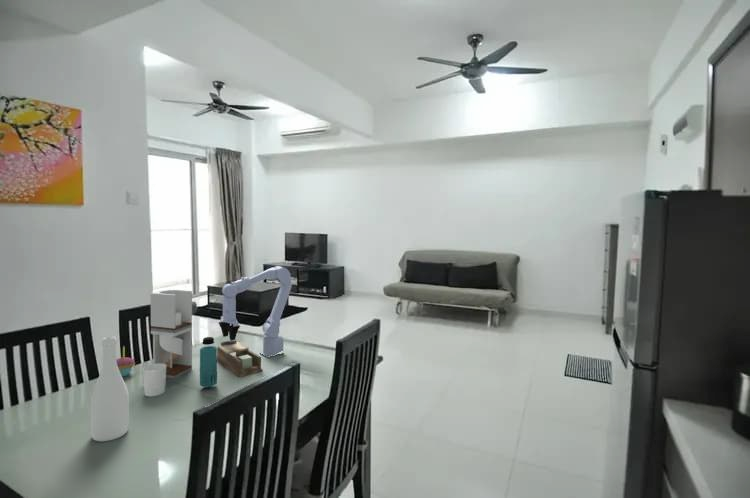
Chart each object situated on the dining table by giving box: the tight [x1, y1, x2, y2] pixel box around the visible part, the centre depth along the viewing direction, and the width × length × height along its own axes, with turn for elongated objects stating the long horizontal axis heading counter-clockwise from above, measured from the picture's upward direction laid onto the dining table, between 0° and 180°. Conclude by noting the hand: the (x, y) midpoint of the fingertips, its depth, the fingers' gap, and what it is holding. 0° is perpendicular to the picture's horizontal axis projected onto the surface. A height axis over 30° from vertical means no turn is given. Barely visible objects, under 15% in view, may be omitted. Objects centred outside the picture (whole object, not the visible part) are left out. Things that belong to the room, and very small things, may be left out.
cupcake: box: [116, 346, 136, 377], centre depth 164 cm, size 9×8×12 cm
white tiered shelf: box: [150, 288, 193, 380], centre depth 167 cm, size 11×11×35 cm
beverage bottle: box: [199, 336, 218, 388], centre depth 153 cm, size 6×7×20 cm
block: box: [238, 355, 252, 370], centre depth 173 cm, size 4×4×5 cm
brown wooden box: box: [216, 347, 264, 378], centre depth 178 cm, size 11×24×6 cm, turn 44°
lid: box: [217, 339, 250, 354], centre depth 181 cm, size 10×11×2 cm
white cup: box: [142, 363, 167, 397], centre depth 148 cm, size 8×8×10 cm
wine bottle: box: [90, 335, 130, 442], centre depth 118 cm, size 10×10×30 cm
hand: (229, 338), depth 184 cm, fingers open, 7 cm apart
